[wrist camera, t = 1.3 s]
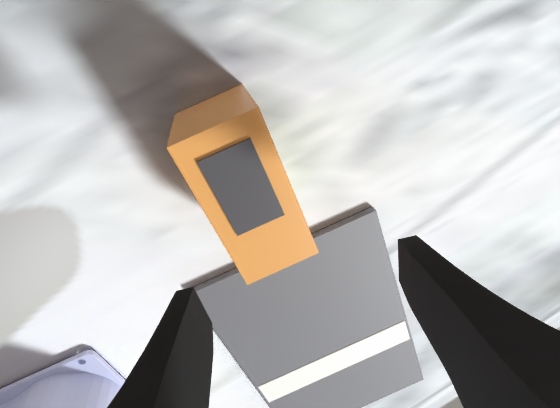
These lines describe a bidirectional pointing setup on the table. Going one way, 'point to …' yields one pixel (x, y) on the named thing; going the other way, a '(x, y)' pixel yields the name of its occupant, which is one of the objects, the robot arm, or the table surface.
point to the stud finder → (241, 183)
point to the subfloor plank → (320, 322)
